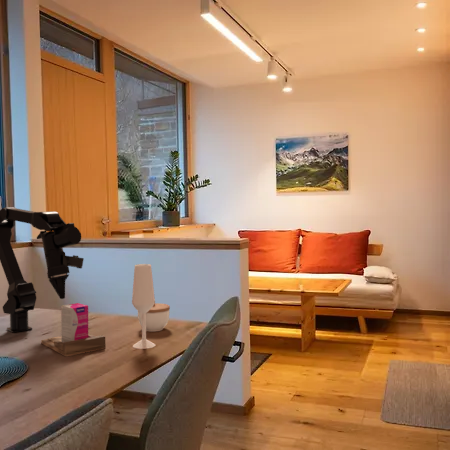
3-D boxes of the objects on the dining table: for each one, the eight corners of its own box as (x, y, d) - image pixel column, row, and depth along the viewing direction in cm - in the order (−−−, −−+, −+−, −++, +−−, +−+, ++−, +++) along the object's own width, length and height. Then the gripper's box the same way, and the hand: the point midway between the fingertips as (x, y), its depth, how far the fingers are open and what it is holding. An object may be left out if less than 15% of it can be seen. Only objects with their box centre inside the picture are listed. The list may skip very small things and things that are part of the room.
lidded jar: (131, 331, 172) (130, 303, 171) (148, 324, 182) (147, 297, 181) (160, 334, 168) (159, 305, 167) (175, 327, 178) (175, 299, 177)
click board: (41, 343, 158) (41, 332, 158) (78, 336, 166) (78, 325, 166) (66, 356, 144) (65, 344, 144) (105, 348, 152) (105, 336, 152)
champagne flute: (143, 341, 159) (142, 263, 158) (160, 344, 156) (159, 264, 155) (127, 346, 154) (126, 265, 153) (144, 350, 150) (143, 266, 149)
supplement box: (72, 347, 150) (71, 308, 149) (60, 344, 153) (60, 305, 153) (89, 343, 154) (88, 304, 153) (78, 340, 158) (77, 302, 157)
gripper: (81, 242, 160) (90, 293, 159) (77, 248, 177) (86, 293, 176) (43, 249, 156) (53, 301, 155) (43, 254, 174) (52, 300, 173)
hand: (62, 298), depth 165 cm, fingers open, 9 cm apart
